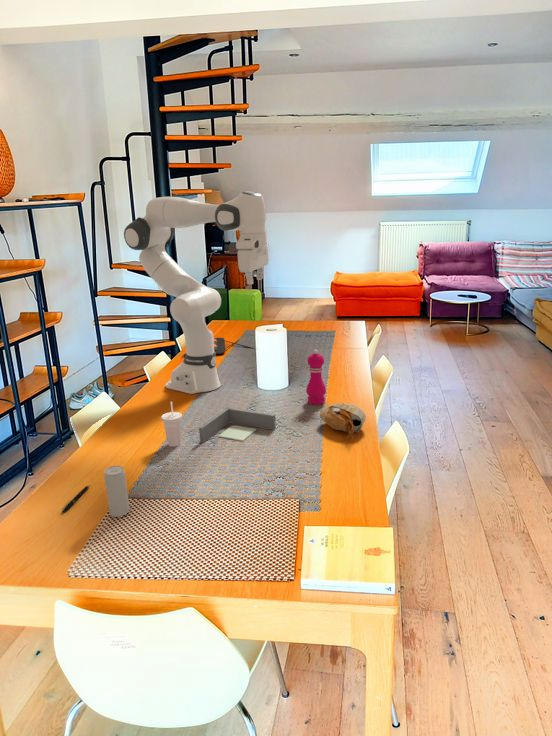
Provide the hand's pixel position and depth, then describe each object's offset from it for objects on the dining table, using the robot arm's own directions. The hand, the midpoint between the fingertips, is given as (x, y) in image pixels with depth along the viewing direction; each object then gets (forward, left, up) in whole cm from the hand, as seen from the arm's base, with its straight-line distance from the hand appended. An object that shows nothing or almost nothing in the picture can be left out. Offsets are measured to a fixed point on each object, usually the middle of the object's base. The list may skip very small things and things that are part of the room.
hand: (255, 281), depth 194 cm
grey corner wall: (+7, -29, -45) cm, 54 cm away
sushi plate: (-49, +61, -45) cm, 91 cm away
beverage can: (+1, -80, -45) cm, 92 cm away
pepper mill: (+20, +7, -45) cm, 49 cm away
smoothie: (-9, -42, -45) cm, 62 cm away
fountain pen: (-14, -79, -45) cm, 92 cm away
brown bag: (+37, -14, -45) cm, 60 cm away
